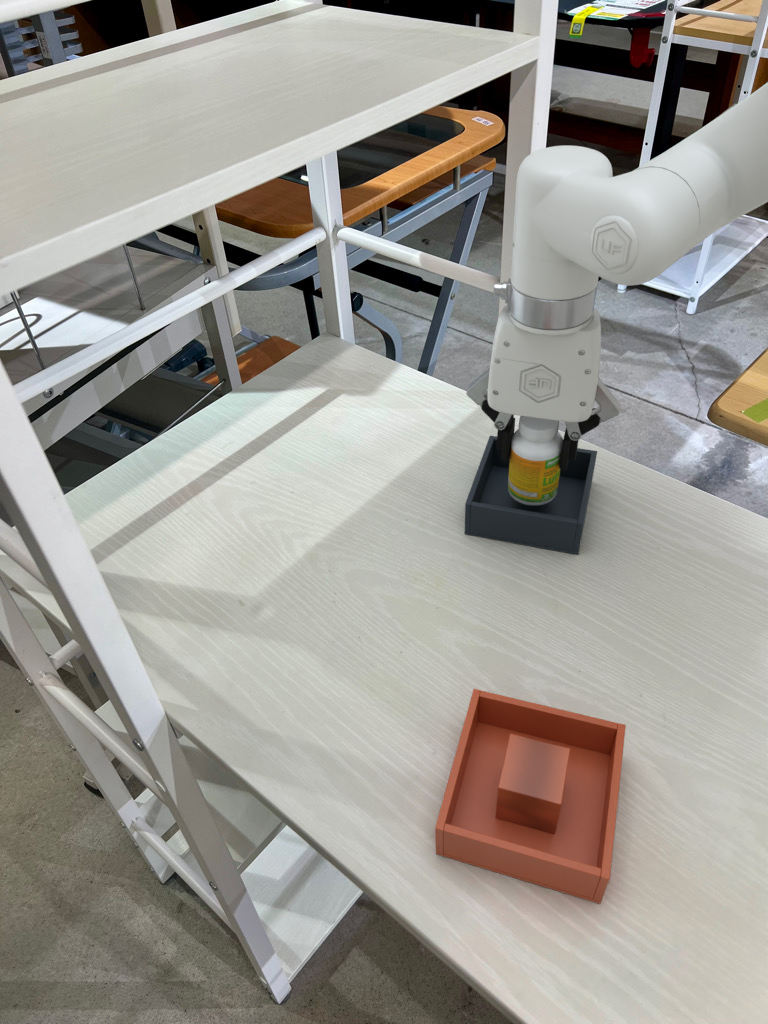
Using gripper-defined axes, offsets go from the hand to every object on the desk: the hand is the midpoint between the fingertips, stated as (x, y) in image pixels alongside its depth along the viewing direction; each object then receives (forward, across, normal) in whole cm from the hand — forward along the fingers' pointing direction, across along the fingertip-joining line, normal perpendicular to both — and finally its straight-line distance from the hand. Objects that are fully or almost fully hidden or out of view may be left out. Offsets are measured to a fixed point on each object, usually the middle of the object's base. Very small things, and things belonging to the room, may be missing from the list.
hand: (535, 456), depth 79 cm
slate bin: (+7, 0, 0) cm, 7 cm away
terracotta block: (+7, +6, -34) cm, 35 cm away
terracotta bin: (+7, +6, -34) cm, 35 cm away
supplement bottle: (+5, 0, 0) cm, 5 cm away
